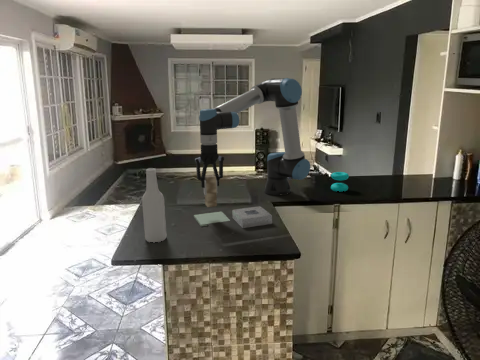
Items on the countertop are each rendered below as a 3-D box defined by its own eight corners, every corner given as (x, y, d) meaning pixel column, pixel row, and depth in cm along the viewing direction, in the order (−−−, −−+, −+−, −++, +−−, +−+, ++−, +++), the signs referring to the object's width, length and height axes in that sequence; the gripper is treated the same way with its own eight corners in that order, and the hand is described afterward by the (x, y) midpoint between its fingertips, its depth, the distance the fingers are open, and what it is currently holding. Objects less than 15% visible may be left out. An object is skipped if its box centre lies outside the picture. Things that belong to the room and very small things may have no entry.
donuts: (329, 171, 238) (346, 171, 238) (329, 187, 241) (345, 187, 241) (333, 175, 229) (350, 175, 228) (332, 192, 231) (350, 192, 231)
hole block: (260, 216, 194) (260, 206, 193) (272, 225, 181) (272, 215, 180) (232, 219, 189) (232, 209, 188) (242, 230, 177) (242, 219, 175)
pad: (221, 213, 199) (221, 211, 199) (230, 222, 186) (230, 220, 186) (193, 217, 194) (193, 215, 194) (200, 226, 182) (200, 224, 181)
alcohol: (168, 234, 173) (163, 166, 166) (165, 242, 164) (160, 171, 157) (147, 235, 173) (141, 166, 165) (143, 243, 164) (137, 171, 157)
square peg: (214, 203, 191) (213, 174, 188) (216, 206, 187) (215, 176, 184) (205, 204, 190) (204, 175, 186) (207, 207, 186) (206, 177, 182)
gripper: (191, 146, 175) (193, 197, 181) (230, 143, 181) (231, 193, 186) (188, 143, 182) (190, 193, 188) (225, 141, 188) (226, 189, 193)
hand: (210, 193), depth 187 cm, fingers closed on square peg, 4 cm apart
